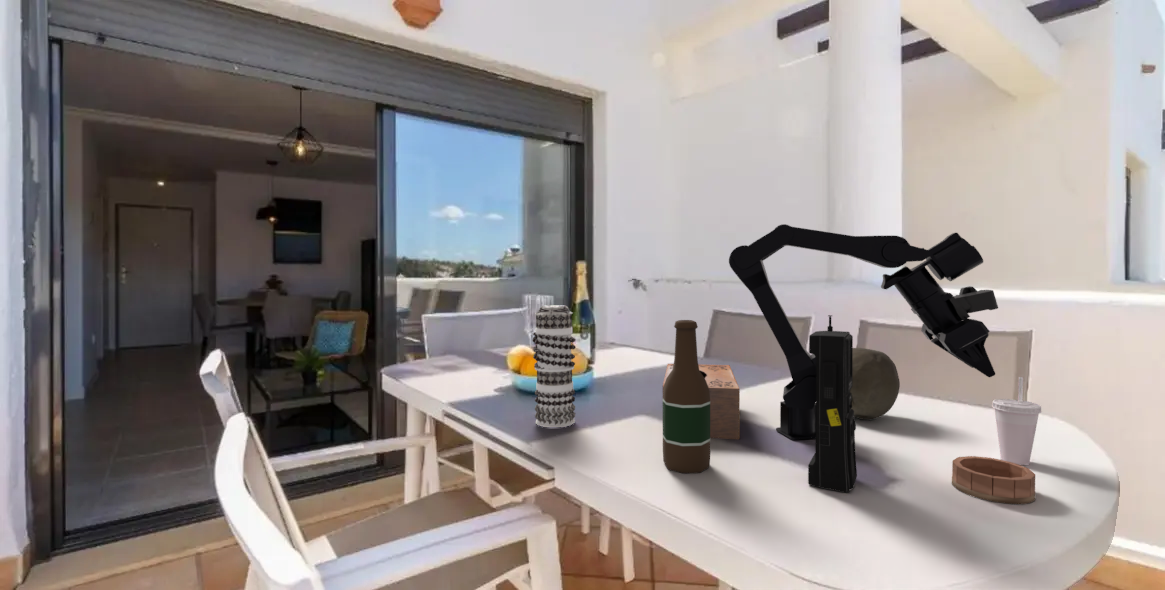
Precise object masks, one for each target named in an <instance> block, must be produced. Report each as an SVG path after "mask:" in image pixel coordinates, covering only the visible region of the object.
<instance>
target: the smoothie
mask: <svg viewBox="0 0 1165 590" xmlns="http://www.w3.org/2000/svg"><path fill="white" fill-rule="evenodd" d="M1023 386H1024V377H1022V376H1018V388H1017V389H1018V392H1017V393H1018V394H1017V399H1010V398H995V399H993V400H992V401H991V402H992V403H991V407H992V408H993V409H994V416H995V423H996V424H995V425H996V433H997V438H998V449H999V455H1000V460H1004V461H1008V462H1012V463H1015V464H1018V465H1021V466H1029V465H1030V461H1031V456H1032V450H1033V445H1034V441H1035V436H1036V430H1037V425H1038V420H1039V414H1041V413H1042V405H1040V404H1038V403H1036V402H1032V401H1027V400H1023V398H1024V397H1023V395H1024V394H1023V391H1024V390H1023V389H1024V388H1023Z"/></svg>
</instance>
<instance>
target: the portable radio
mask: <svg viewBox="0 0 1165 590" xmlns="http://www.w3.org/2000/svg"><path fill="white" fill-rule="evenodd" d="M827 317H828V326H827V330H818V331H814V332H813V333H811V334H810V335H809V336H808V337H809V341H808V346H809V349H808V353H809V354H810V355H812V354H814V355H815V357H816V402H815V403H816V438H815V444H814V445H815V447H814V448H815V449H814V451H815V452H814V454H813V456H812V458H811V460H810V461H809V463H808V465H807V466H808V467H807V468H808V470H807V472H808V473H807V483H808V485H810V486H813V487H816V488H820V489H825V490H829V491H830V490H831V491H836V492H841V493H846V494H847V493H848V494H849V493H850V491H851V490H853V489H854V487H855V485H856V482H857V477H858V470H857V469H858V468H857V460H856V459H857V457H856V437H855V436H856V435H855V431H856V429H857V424H856V419H855V417H854V410H853V409H851V408H852V393H851V392H850V390H851V388H852V379H853V348H854V347H853V345H854V343H853V342H854V339H853V337H854V336H853V335H852V334H851V333H850V332H849V331H842V330H841V331H839V330H833V329H834V327H833V326H832V317H833V314H832V315H830V314H829V315H827Z"/></svg>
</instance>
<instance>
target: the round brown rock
mask: <svg viewBox="0 0 1165 590" xmlns="http://www.w3.org/2000/svg"><path fill="white" fill-rule="evenodd" d="M900 387H901V385H900V377H899V372H898V368H897V367H896V364H895V362H894V361H893V359H891V357H890V356H889V355H887V354H886V353H885V352H883V351H880V350H875V349H871V348H863V347H853V379H852V388H851V390H850V392H851V393H852V408H851V409H853V410H854V418H856V419H860V420H863V421H864V420H867V421H870V420H876V419H878V418H881V417H883V416H884V415H885V414H887V413H888V412H889V411H890V410H891V409H892V408H893V406H894V405H895V403H896V401H897V399H898V396H899V392H900Z"/></svg>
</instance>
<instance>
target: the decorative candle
mask: <svg viewBox="0 0 1165 590" xmlns="http://www.w3.org/2000/svg"><path fill="white" fill-rule="evenodd" d="M534 314H535V331H534V332H532V333H531V334H532V335H533V336H534V337H532V339H531V341H532V343H534V345H535V344H536V345H535V346H534V347H533V349H532V351H533V352H534V354H533V359H534V360H535V361H536V362H535V363H534V366H533V367H534V370H535V371H536V383H535V384H536V385H535V386H536V390H535V391H534V395H535V396H536V397H535V399H534V402H536V404H535V407H534V411H535V415H534V418H535V419H536V420H535V425H536V424H537V425H540V426H543V427H565V428H567V427H566V426H569V425H572V424H573V423H575V422H576V420H575V418H576V412H575V410H576V405H575V404H574V402H575V400H576V398H575V396H573V395H575V393H576V390H575V389H574V381H573V370H575V366H576V362H574V361H573V360H574V359H575V358H576V355H575V354H574V353H572V350H575V349H576V345H574V343H575V342H576V338H575V337H573V336H572V335H573V326H572V325H573V324H572V322H573V321H572V314H573V312H572V311H570V309H569V307H568V306H567V305H563V304H562V305H561V304H559V305H558V304H555V305H554V304H552V305H551V304H550V305H542V306H540V307H539V308H538V310H537V312H535V313H534ZM575 424H576V423H575ZM537 425H536V426H537ZM573 425H574V424H573ZM573 425H572V426H573ZM543 427H542V428H543ZM569 427H570V426H569Z"/></svg>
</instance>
